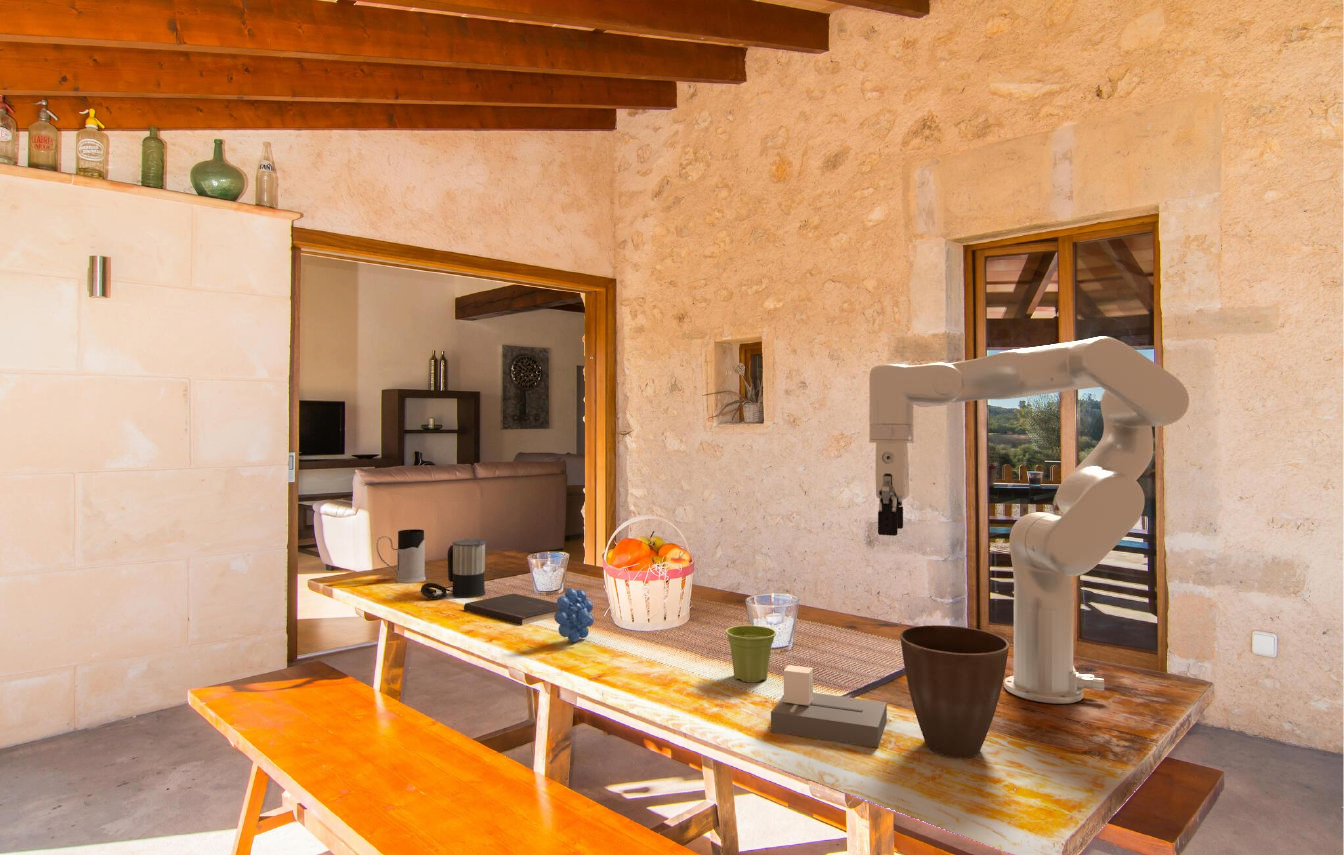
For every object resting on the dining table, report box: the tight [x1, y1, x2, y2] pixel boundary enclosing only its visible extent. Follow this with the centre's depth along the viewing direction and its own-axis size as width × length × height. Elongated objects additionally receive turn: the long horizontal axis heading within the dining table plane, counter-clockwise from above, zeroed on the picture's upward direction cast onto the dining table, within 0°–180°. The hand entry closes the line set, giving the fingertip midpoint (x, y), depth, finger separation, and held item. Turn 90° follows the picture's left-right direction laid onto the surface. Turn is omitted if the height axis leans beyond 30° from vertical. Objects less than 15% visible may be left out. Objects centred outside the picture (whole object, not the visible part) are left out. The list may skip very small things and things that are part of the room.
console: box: [770, 692, 888, 749], centre depth 120 cm, size 16×11×3 cm
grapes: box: [553, 587, 595, 643], centre depth 167 cm, size 12×7×12 cm, turn 145°
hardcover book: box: [463, 593, 561, 626], centre depth 195 cm, size 16×23×2 cm
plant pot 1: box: [725, 625, 777, 683], centre depth 144 cm, size 9×9×9 cm
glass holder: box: [376, 528, 427, 584], centre depth 233 cm, size 9×14×15 cm, turn 108°
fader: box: [783, 664, 814, 706], centre depth 122 cm, size 4×3×5 cm
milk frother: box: [420, 538, 487, 600], centre depth 213 cm, size 14×16×15 cm
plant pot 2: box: [899, 624, 1010, 759], centre depth 113 cm, size 15×15×16 cm
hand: (890, 531), depth 136 cm, fingers open, 9 cm apart
